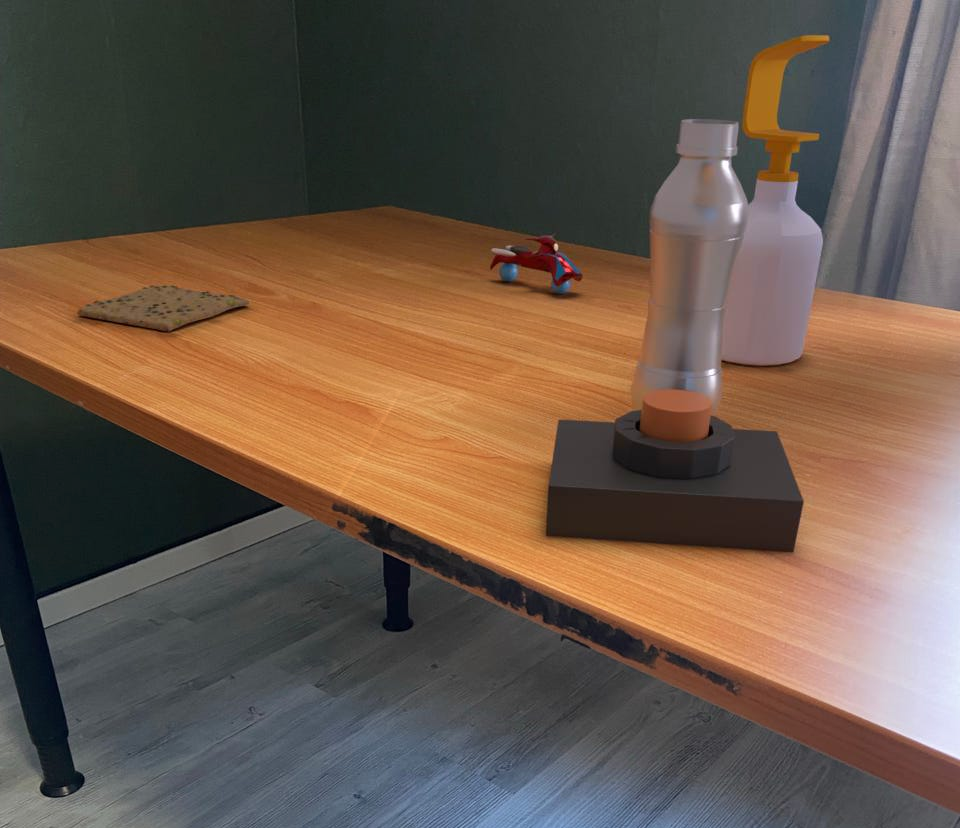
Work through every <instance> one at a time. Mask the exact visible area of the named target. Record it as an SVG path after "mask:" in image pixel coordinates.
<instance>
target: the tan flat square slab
mask: <svg viewBox="0 0 960 828" xmlns="http://www.w3.org/2000/svg"><path fill="white" fill-rule="evenodd" d="M249 305H250V303H249V300H248V299H247V298H244V297H241V296H240V297H239V296H236V295H233V294H229V295H227V294H221V293H215V292H210V291H208V290H207V291H201V290H192V289H188V288H184V287H183V288H182V287H178V286H175V285H157V286H155V285H150V286H148V287H147V286H143V287H142V288H141V289H138V290H135V291H133V292H130V293H127V294H123V295H121V296H119V297H114V298H108V299H104V300H101V301H99V300H95V301H94V302H92V303H91V304H90V303H87V304H85V306H83V307H81V308H78V310H77V316H80V317H86V318H87V317H88V318H92V319H97V320H104V321H108V322H115V323H120V324H124V325H131V326H136V327H143V328H148V329H152V330H153V329H154V330H159V331H164V332H170V331H172V330H174V329H177V328H180V327H182V326H184V325H187V324H189V323H193V322H196V321H199V320H204V319H208V318H211V317H214V316H217V315H219V314H222V313H224V312H225V311H228V310H229V311H230V310H231V309H235V308H238V307H244V306H245V307H246V306H249Z"/></svg>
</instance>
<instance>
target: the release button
mask: <svg viewBox="0 0 960 828" xmlns="http://www.w3.org/2000/svg"><path fill="white" fill-rule="evenodd" d="M711 410H712V401H711V400H710V399H709V398H708V397H706V396H704V395H702V394H699V393H695V392H691V391H685V390H673V389H669V390H657V391H652V392H649V393H647V394H645V395H644V397H643V401H642V411H641V420H640V430H639V431H640V432H641V433H642V434H644V435H646V436H648V437H652V438H656V439H660V440H664V441H678V442H692V441H698V440H705V439H706V438H707V437H708V431H709V424H710V417H711Z"/></svg>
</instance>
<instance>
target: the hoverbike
mask: <svg viewBox="0 0 960 828" xmlns="http://www.w3.org/2000/svg"><path fill="white" fill-rule="evenodd" d="M555 235H556V233H552V234H551V235H541V236H540V237H537V238H535V237H528V238H526V239H524V240H525V241H534V242H537V243H539V244H540V246H539V248H538V250H536V251H532V250H531V249H529V248H528V247H527V246H526V245H524V244H518V245H506V246H505V249H501V248H495V247H494V248H491V249H490V252H491V254H493V255H494V256H493V258H492V261H491V264H490V268H489V270H490V271H491V270H493V269H494V268H495V267H496V266H497V265H498V264H501V265H500V267H499V270H498V272H499V273H498V275H499V277H500V278H501V280H502V281H504V282H506V283H509V282H512V281H514V280H515V279H516V278H517V276H518V272H519V271H518V270H519V269H518V267H517V266H519V267H522V268H526V269H529V270H536V271H541V272H545V273H548V274H550V275H551V277H552V279H551V282H550V287H551V289H552V291H553V292H554V293H555V294H559V295H563V294H566V293H567V292H568V291H569V290H570V287H571V279H572V280H574V281H575V282H581V281H582V280H583V273H582V271H581V270H580V269H579V267H577V265H575V264H574V263H573V262H572V261H571V259H570V258H569V256H567V255H566V254H564V253H563V252H561V251H559V243H558V241H557V240H556V239H555V238H554V237H555Z"/></svg>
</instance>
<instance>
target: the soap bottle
mask: <svg viewBox="0 0 960 828" xmlns="http://www.w3.org/2000/svg"><path fill="white" fill-rule="evenodd" d="M828 43H830V35H826V34H825V35H823V34H822V35H820V34H819V35H818V34H812V35H810V34H809V35H808V34H805V35H800V36H796V37H793V38H790V39H787V40H786V41H783V42H780V43H777V44H775V45H772V46H769V47H767V48H765V49H762V50H761V51H760V52H758V53H756V54H755V56H754V57H753V59H752V61H751V63H750V66H749V69H748V78H747V85H746V92H745V99H744V107H743V113H742V114H743V116H742V121H741V122H742V130H743V132H744V134H745V136H746V137H749V138H750V139H759V140H765V146H764V147H765V148H764V151H765V152H770V159H769V165H768V169H762V170H758V172H757V178H756V182H755V189H754V195H753V199H752V200H751V201H750V202H748V210H749V218H748V222H747V227H746V231H745V232H744V238H743V241H742V245H741V248H740V252H739V255H738V259H737V262H736V266H735V269H734V273H733V277H732V282H731V287H730V293H729V297H728V298H727V302H726V303H727V308H726V313H725V318H724V330H723V345H722V359H721V361H723V362H727V363H729V364H736V365H743V366H757V367H765V366H766V367H767V366H769V367H770V366H780V365H784V364H785V365H786V364H789V363H793V362H794V361H796V360H799V359H800V358H801V357H802V354H803V352H804V347H805V343H806V338H807V337H806V336H807V331H808V326H809V320H810V316H811V310H812V304H813V299H814V293H815V289H816V282H817V278H818V277H817V276H818V272H819V268H820V262H821V256H822V250H823V245H824V238H823V233H822V228H821V227H820V226H819V225H818V224H817V222H816V221H815V220H814V219H813V218H812V217H811V216H810V215H809V214H807V213H806V212H805V211H803V210H802V209H801V207H799V206H798V204H797V202H796V195H797V189H798V183H799V173H800V172H798V171H791V170H790V168H791V163H792V156H793V153H799V152H800V149H801V148H800V147H801V142H810V141H811V142H812V141H819V138H820V133H814V132H806V131H805V132H803V131H795V130H794V131H793V130H785V129H781V128H780V126H779V124H778V112H779V111H778V110H779V104H780V97H781V92H782V84H783V79H784V78H783V77H784V73H785V70H786V67H787V64H788V63H789V61H790V60H791V59H792V58H794V57H795V56H797V55H799V54H802V53H805V52H807V51H810V50H812V49H815V48H818V47H821V46H823V45H826V44H828Z"/></svg>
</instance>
